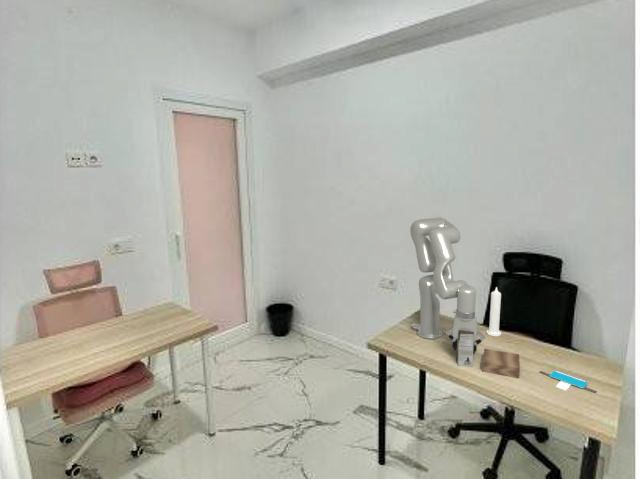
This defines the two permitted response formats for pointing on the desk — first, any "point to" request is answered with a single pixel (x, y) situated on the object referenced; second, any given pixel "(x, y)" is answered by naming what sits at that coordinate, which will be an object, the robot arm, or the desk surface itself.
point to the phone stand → (568, 380)
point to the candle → (494, 314)
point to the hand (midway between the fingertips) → (464, 350)
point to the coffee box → (465, 348)
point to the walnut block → (501, 363)
